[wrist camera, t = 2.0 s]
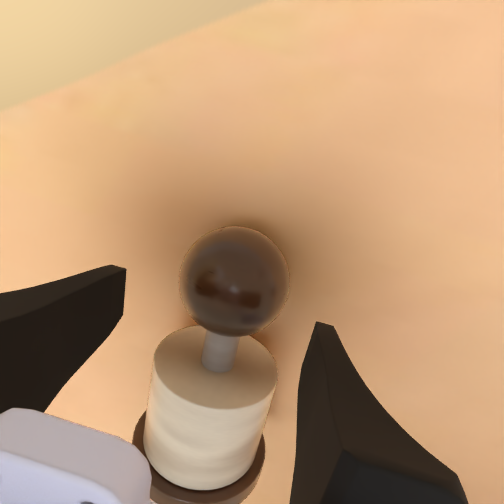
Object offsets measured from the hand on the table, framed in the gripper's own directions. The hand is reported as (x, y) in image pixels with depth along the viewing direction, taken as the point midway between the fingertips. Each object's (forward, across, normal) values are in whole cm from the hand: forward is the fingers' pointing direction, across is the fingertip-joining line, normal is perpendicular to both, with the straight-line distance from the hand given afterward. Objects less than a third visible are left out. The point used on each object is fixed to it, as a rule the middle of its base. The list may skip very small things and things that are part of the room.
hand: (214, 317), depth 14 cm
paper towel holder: (+3, 0, +11) cm, 11 cm away
